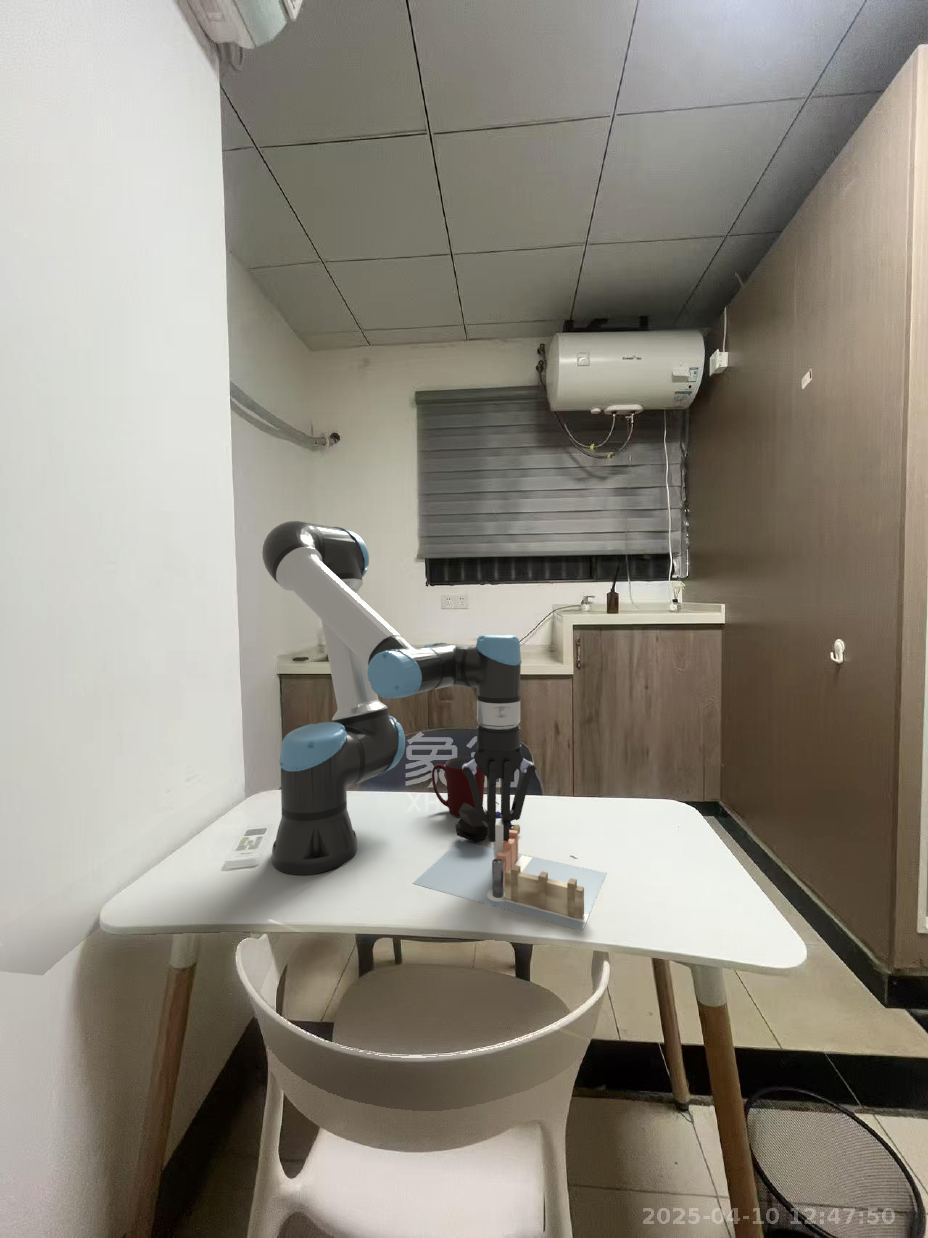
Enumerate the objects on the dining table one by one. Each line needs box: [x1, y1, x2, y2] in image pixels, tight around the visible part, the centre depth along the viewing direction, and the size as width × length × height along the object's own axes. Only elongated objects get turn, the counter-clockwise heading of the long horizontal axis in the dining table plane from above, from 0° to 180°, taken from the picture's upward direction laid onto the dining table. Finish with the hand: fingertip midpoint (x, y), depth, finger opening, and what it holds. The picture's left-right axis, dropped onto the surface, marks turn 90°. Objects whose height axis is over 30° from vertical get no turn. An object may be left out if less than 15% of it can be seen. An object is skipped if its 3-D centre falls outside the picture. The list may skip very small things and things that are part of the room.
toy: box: [455, 801, 521, 844], centre depth 100 cm, size 9×6×15 cm
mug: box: [431, 756, 486, 819], centre depth 112 cm, size 12×9×11 cm
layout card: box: [412, 839, 607, 932], centre depth 84 cm, size 28×17×1 cm, turn 63°
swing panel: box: [497, 830, 519, 888], centre depth 86 cm, size 12×2×5 cm, turn 163°
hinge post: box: [492, 859, 504, 898], centre depth 79 cm, size 2×2×6 cm
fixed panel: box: [505, 865, 584, 919], centre depth 76 cm, size 12×2×5 cm, turn 63°
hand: (498, 858), depth 87 cm, fingers closed
